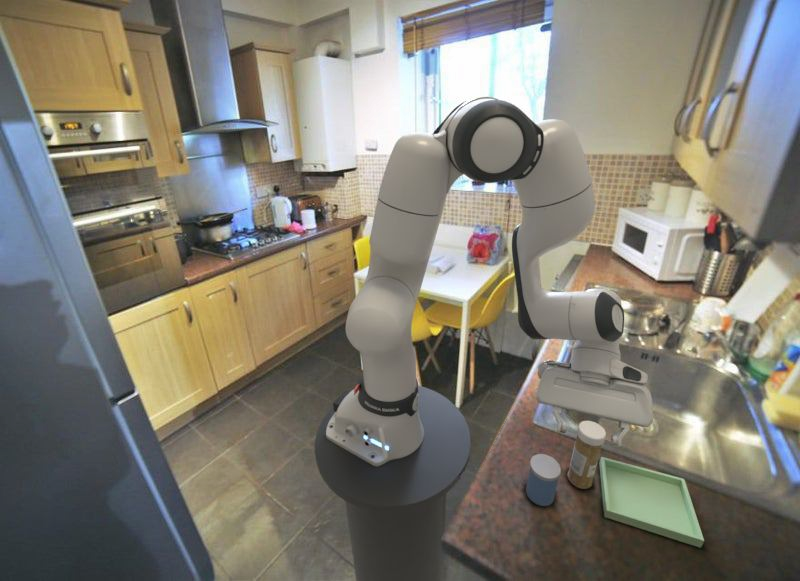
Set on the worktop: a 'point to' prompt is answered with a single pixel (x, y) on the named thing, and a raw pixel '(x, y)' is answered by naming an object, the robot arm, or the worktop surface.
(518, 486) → the worktop surface
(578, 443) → the sprinkles bottle
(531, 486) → the blue tin
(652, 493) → the sage tray
